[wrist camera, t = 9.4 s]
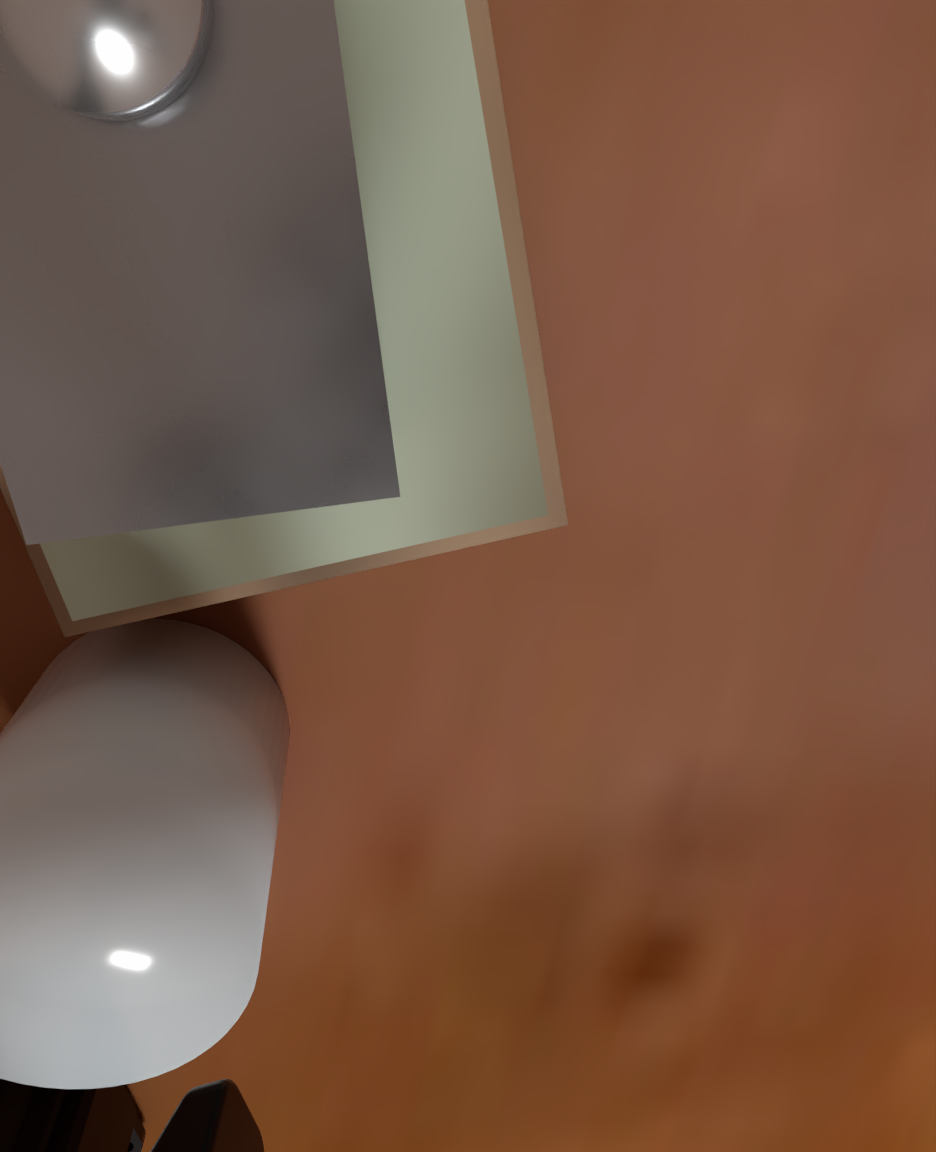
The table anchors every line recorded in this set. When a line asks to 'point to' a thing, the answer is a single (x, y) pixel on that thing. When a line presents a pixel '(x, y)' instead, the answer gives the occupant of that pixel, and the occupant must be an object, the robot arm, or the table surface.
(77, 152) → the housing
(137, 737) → the light grey rounded cylinder
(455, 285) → the stand
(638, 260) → the table surface
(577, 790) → the table surface
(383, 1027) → the table surface
